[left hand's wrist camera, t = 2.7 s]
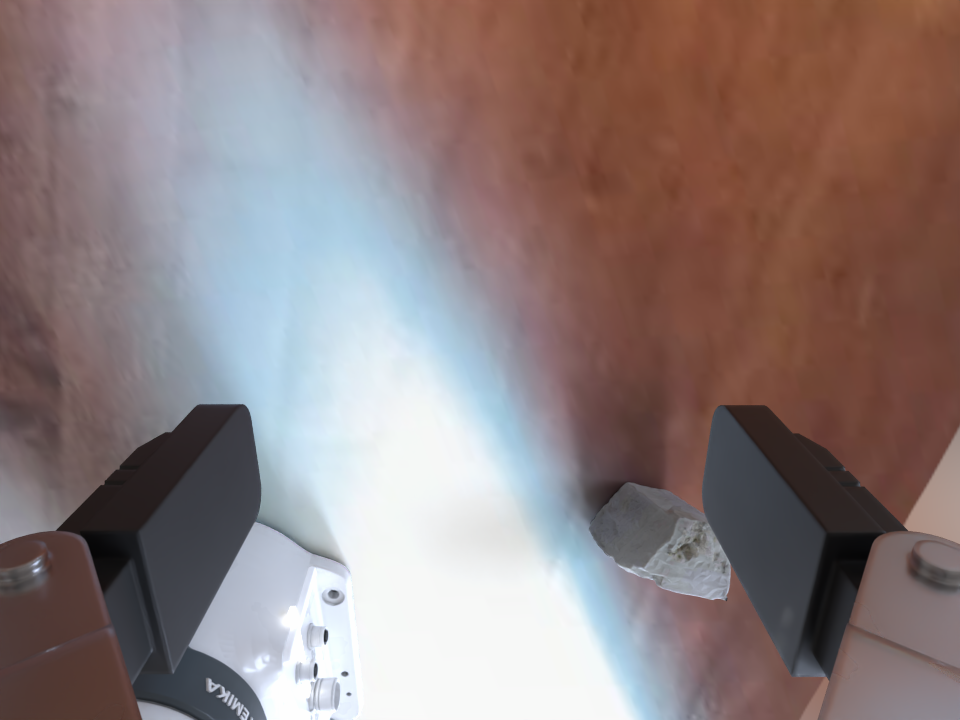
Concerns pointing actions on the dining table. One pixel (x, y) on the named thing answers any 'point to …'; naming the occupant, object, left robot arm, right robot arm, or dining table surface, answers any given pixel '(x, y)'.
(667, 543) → the mineral specimen
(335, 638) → the right robot arm
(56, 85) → the dining table surface
